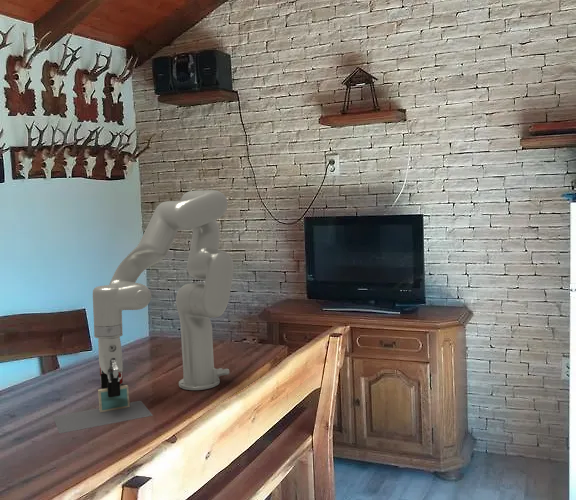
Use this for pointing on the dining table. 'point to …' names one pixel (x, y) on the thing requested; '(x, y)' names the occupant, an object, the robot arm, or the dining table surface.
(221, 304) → the robot arm
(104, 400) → the tile
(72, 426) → the mat
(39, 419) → the dining table surface
